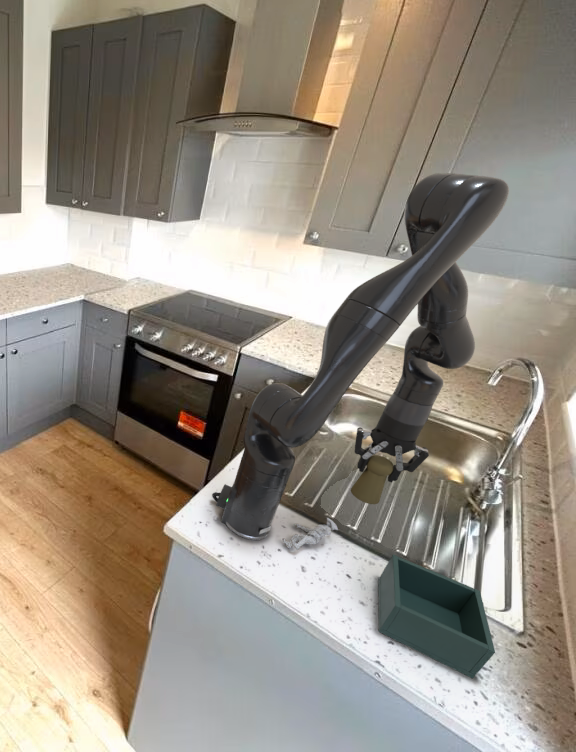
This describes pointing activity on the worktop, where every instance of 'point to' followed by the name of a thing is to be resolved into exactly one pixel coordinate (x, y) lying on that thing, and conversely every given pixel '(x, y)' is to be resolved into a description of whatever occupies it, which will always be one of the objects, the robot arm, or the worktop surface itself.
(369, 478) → the cork
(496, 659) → the worktop surface
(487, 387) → the worktop surface
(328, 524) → the soldier figure
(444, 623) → the tote
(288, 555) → the worktop surface
